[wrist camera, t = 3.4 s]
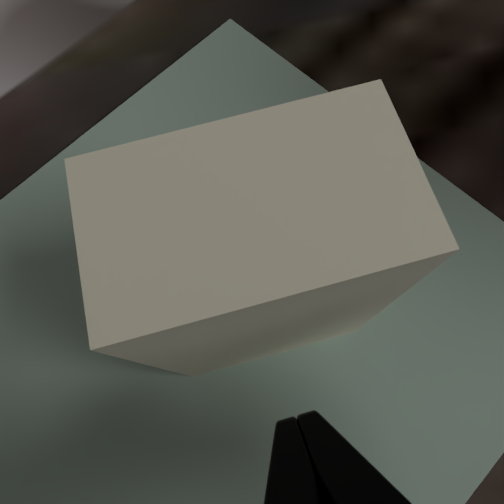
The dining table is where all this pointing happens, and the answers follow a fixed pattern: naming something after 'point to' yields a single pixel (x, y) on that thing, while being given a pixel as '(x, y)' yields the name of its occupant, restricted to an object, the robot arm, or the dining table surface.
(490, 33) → the dining table surface
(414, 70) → the dining table surface
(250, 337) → the card box
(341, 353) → the rubber mat
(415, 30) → the dining table surface
